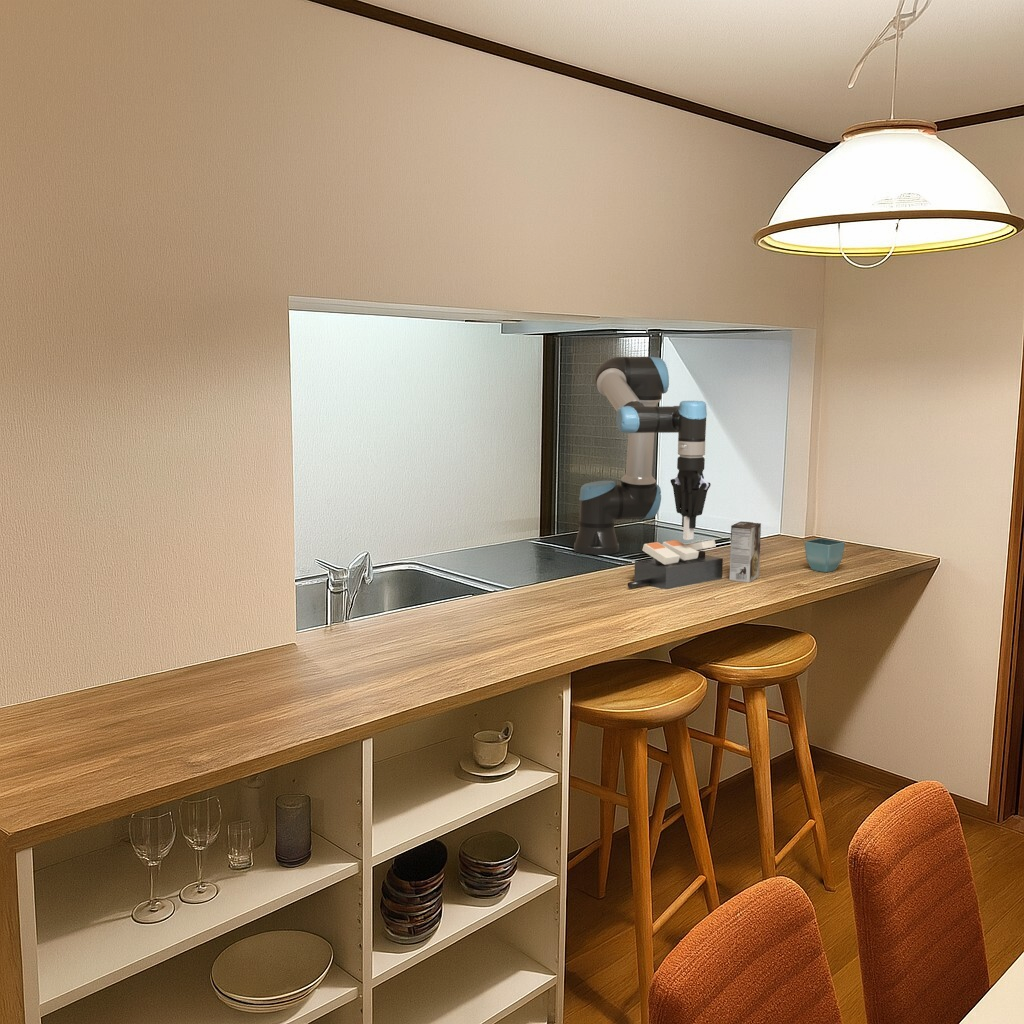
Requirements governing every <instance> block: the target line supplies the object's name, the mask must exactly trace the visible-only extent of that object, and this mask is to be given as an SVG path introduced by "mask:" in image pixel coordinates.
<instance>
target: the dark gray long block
mask: <svg viewBox="0 0 1024 1024" xmlns="http://www.w3.org/2000/svg"><path fill="white" fill-rule="evenodd" d="M698 552H699V554H698V558H696V559H690V560H682V559H681V558H679V561H678V562H677V563H671V564H665V565H664V564H663V563H661V562H660V561H658V560H657V559H655V558H653V557H652V558H648V559H643V560H641V559H640V560H635V561H634V574H633V575H634V576H633V577H634V580H633V581H629V582H627V587H628V588H629V589H632V588H637V587H644V586H650V587H653V588H658V589H663V590H669V589H675V588H680V587H685V586H691V585H694V584H701V583H705V582H712V581H717V580H721V579H723V564H724V563H723V561H724V558H723V557H717V556H712V555H707V554H706V551H705V550H699V551H698Z"/></svg>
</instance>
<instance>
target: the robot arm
mask: <svg viewBox="0 0 1024 1024" xmlns="http://www.w3.org/2000/svg"><path fill="white" fill-rule="evenodd" d="M594 385H595V388H596V390H597V391H598V392H599V394H600V395H602V396H603V397H605V398H606V399H607V400H608V402H609V403H610V405H612V407H613V408H614V410H615V411H616V417H615V420H616V426H617V429H618V431H619V432H620V433H627V434H628V435H627V448H626V449H627V450H626V451H627V453H626V463H625V464H626V467H625V469H626V470H625V474H624V475H623V476H622V477H621V478H620V484H616V482H615V481H614V480H597V481H596V480H595V481H591V482H587V483H584V484H583V485H581V487H580V490H579V491H580V492H579V498H578V500H579V521H578V522H579V523H578V524H579V527H578V530H577V531H578V532H577V534H576V539H575V541H574V543H573V551H574V552H575V553H579V554H585V555H594V556H595V555H613V554H617V553H620V544H619V542H618V538H617V533H616V531H615V521H616V520H619V521H620V520H623V521H624V520H640V521H642V520H649V519H653V518H654V517H656V515H657V514H658V513H659V510H660V507H661V503H662V502H661V501H662V494H661V493H662V489H661V487H660V485H659V484H658V483H657V480H656V479H655V478H654V476H653V463H654V462H653V461H654V449H655V447H654V446H655V445H654V444H655V434H657V433H662V434H665V433H667V434H668V433H670V434H671V433H672V434H673V433H674V434H675V433H676V434H677V433H678V435H677V436H678V437H677V438H678V439H677V455H679V456H678V457H677V462H676V463H677V464H676V466H677V467H676V468H677V470H678V472H677V475H676V477H675V478H672V479H670V483H671V487H672V490H673V496H674V503H675V510H676V513H677V514H680V515H681V517H682V518H681V526H682V527H683V532H682V533H683V534H682V539H683V540H685V541H689V540H694V536H695V528H696V524H697V517H698V516H702V515H703V511H704V507H705V502H706V498H707V494H708V490H709V489H710V487H711V483H710V482H707V481H706V480H705V479H704V478H705V477H704V473H703V472H704V470H705V461H706V460H705V457H703V456H705V455H706V435H707V433H706V432H707V431H706V430H707V429H706V428H707V416H708V413H707V403H706V402H705V401H703V400H700V401H699V400H681V401H680V403H679V405H672V406H669V405H668V406H666V405H665V406H657V405H658V404H659V402H661V401H662V396H663V394H666V393H667V392H668V391H669V385H670V376H669V370H668V367H667V364H666V362H665V360H663V358H661V357H656V356H615V357H611V358H608V359H606V360H605V361H603V363H601V365H599V366H598V368H597V370H596V372H595V374H594Z"/></svg>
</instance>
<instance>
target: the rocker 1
mask: <svg viewBox="0 0 1024 1024" xmlns="http://www.w3.org/2000/svg"><path fill="white" fill-rule="evenodd" d="M662 544H663V543H660V542H658V541H656V542H649V543H644V544H643V547H642V551H643V552H644V553H646V554H647V555H648V556H650V557H651V558H652V559H653V558H655V559H657V560H658V561H660V562H661V563H663V564H664V565H665V564H671V563H677V562H678V561H679V558H680V556H679V555H678V554H676V553H674V552H673V551H671V550H670V549H668V548H666V547H665V546H663V545H662Z"/></svg>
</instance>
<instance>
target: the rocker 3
mask: <svg viewBox="0 0 1024 1024" xmlns="http://www.w3.org/2000/svg"><path fill="white" fill-rule="evenodd" d="M686 545H687V546H689V547H691V548H693V549H694V550H696V551H705V550H707V549H711V548H716V546H717V545H716V540H715V539H713V540H705V541H699V542H694V543H688V544H686Z"/></svg>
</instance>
